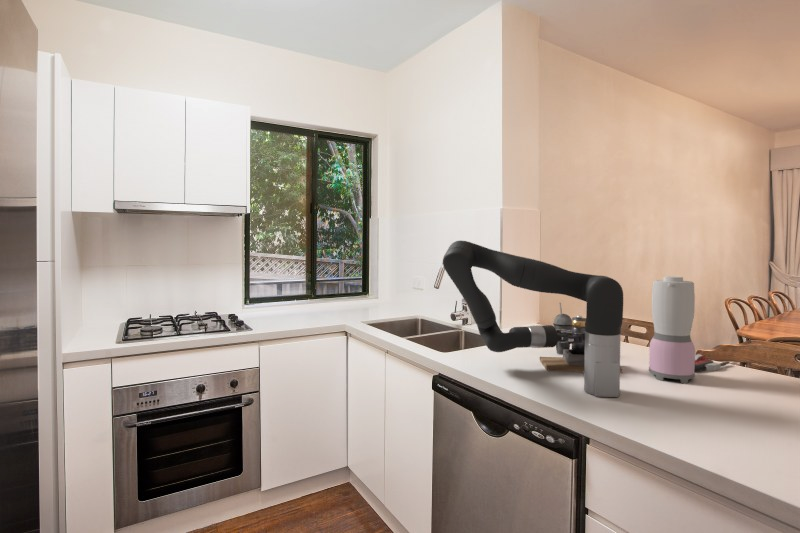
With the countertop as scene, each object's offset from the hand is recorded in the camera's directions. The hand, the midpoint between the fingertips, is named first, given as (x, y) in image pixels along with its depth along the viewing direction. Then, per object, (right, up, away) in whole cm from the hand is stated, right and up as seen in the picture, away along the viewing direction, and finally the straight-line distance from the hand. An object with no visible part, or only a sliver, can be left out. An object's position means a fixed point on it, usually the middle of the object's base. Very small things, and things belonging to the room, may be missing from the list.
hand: (586, 335), depth 146 cm
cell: (-3, -8, 0) cm, 8 cm away
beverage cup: (-1, -10, +18) cm, 21 cm away
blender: (+22, -11, -11) cm, 27 cm away
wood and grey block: (-2, -11, 0) cm, 11 cm away
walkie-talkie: (+39, -11, -2) cm, 41 cm away
